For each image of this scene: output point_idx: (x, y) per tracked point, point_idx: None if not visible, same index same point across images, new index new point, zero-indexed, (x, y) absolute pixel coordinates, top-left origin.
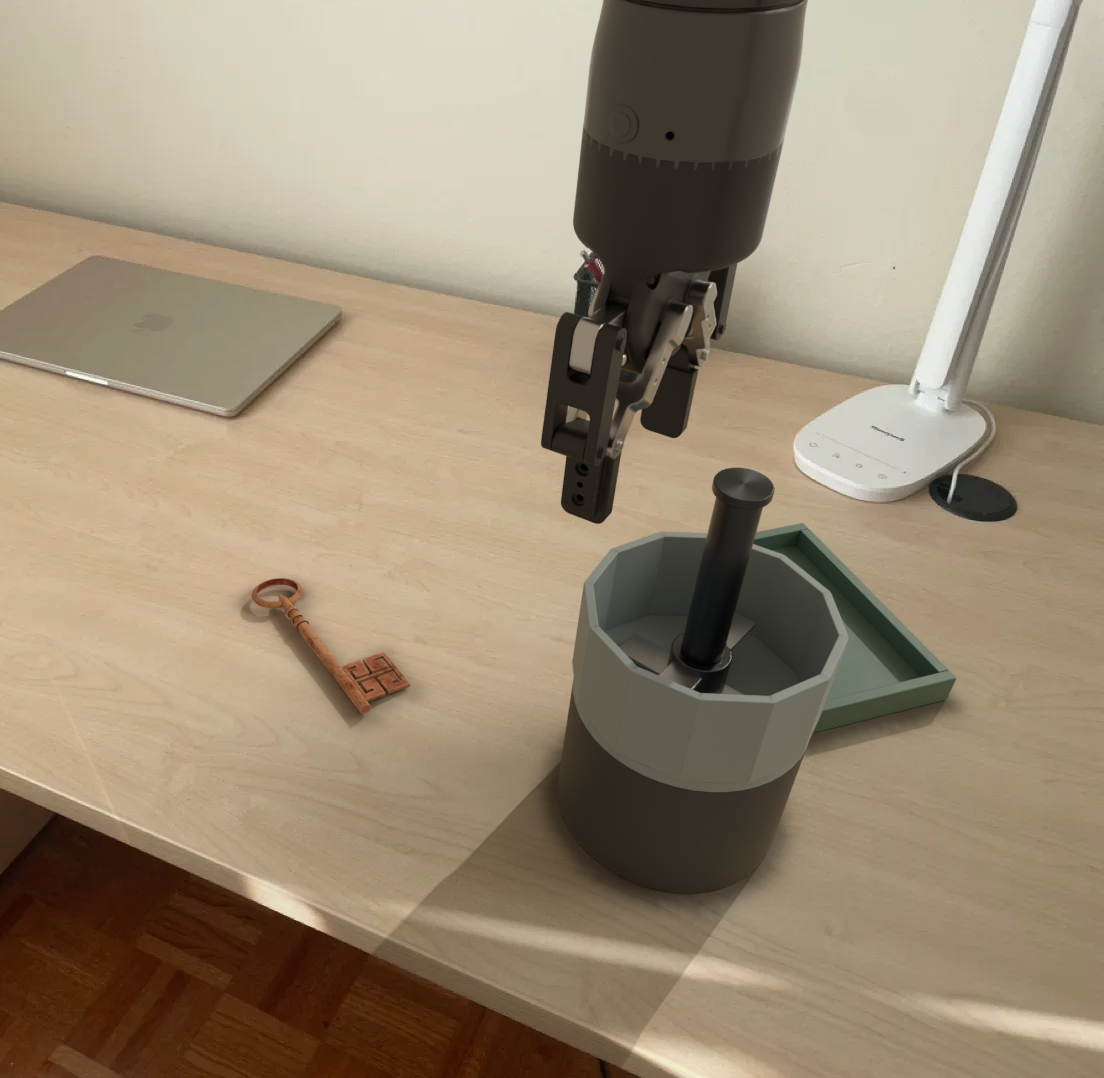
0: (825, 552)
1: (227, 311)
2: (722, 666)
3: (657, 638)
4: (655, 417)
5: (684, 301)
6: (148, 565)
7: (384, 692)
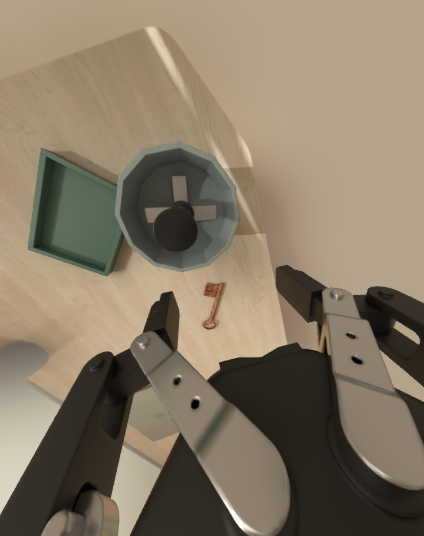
0: (33, 232)
1: (138, 414)
2: (183, 202)
3: None
4: (176, 311)
5: (288, 466)
6: (223, 346)
7: (214, 285)
